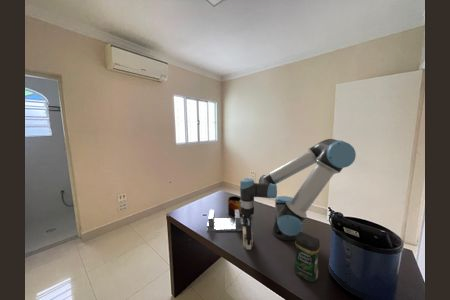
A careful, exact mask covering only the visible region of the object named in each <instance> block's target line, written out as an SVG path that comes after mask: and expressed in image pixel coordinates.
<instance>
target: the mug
mask: <svg viewBox="0 0 450 300" xmlns="http://www.w3.org/2000/svg"><path fill="white" fill-rule="evenodd" d="M239 201H241V199H240V197H239V196H236V195H233V196H229V197H228V198H227V212H228V215H229V217H231V218H235V209H239V214H240V216H241V215H242V214H241V202H239Z"/></svg>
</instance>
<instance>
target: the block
mask: <svg viewBox="0 0 450 300" xmlns="http://www.w3.org/2000/svg"><path fill="white" fill-rule="evenodd" d="M245 238H246V227H243V231H242V242H243V243H242V244H243V248H246V239H245ZM251 238H252V240H251V248H254V233H253V229H252V227H251Z"/></svg>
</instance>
